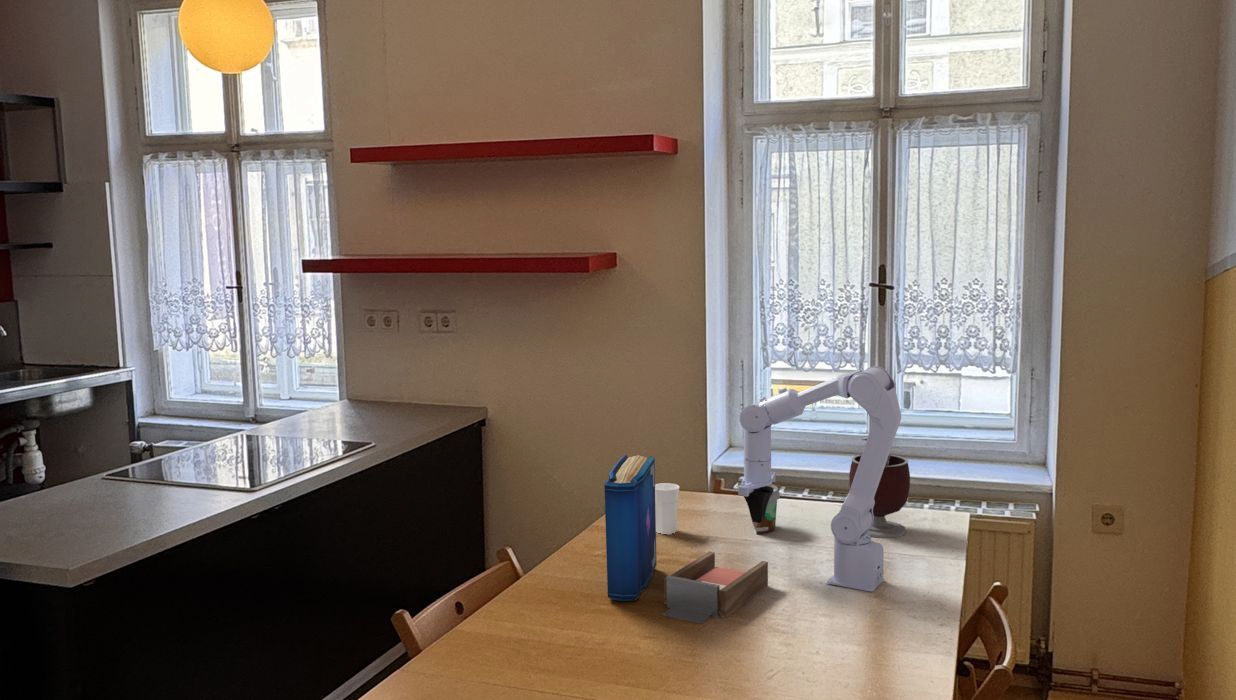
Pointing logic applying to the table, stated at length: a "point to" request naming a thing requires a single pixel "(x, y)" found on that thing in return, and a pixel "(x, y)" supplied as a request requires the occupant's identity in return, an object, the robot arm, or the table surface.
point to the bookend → (692, 599)
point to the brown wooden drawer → (734, 591)
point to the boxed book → (720, 576)
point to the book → (630, 527)
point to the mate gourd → (887, 495)
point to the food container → (768, 514)
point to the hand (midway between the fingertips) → (757, 521)
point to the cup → (666, 507)
